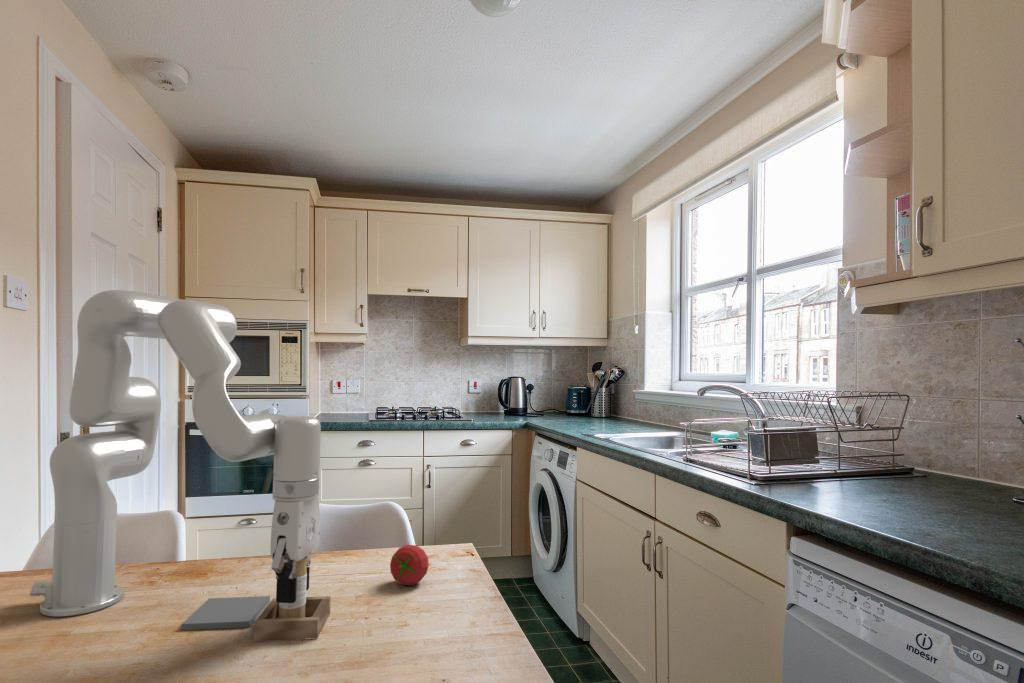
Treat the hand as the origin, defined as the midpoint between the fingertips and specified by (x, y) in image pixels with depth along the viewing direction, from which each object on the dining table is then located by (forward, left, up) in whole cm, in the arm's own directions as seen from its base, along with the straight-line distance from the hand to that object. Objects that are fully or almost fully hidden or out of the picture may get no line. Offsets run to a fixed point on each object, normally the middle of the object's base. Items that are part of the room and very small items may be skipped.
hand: (292, 594), depth 98 cm
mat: (-13, +6, -5) cm, 15 cm away
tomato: (+18, +18, -6) cm, 26 cm away
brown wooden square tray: (0, 0, -5) cm, 5 cm away
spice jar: (0, 0, -5) cm, 5 cm away
